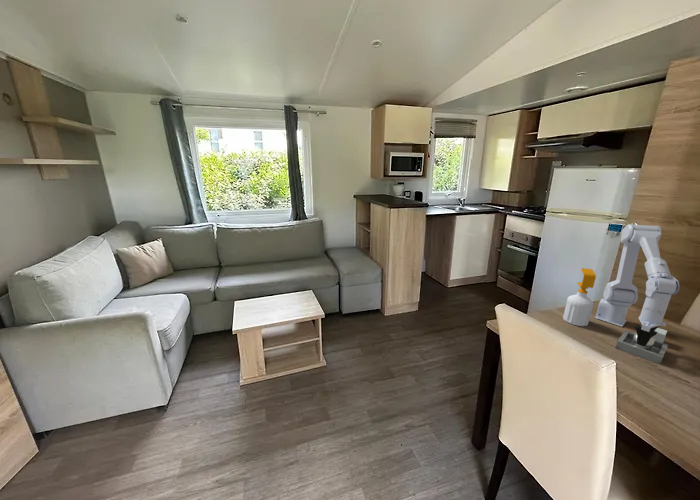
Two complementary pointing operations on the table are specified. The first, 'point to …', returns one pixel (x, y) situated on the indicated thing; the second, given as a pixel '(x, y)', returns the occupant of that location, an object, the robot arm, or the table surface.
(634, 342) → the metal can
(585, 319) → the soap bottle
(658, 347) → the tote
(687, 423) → the table surface
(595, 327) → the table surface
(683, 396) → the table surface
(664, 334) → the pale upright block
